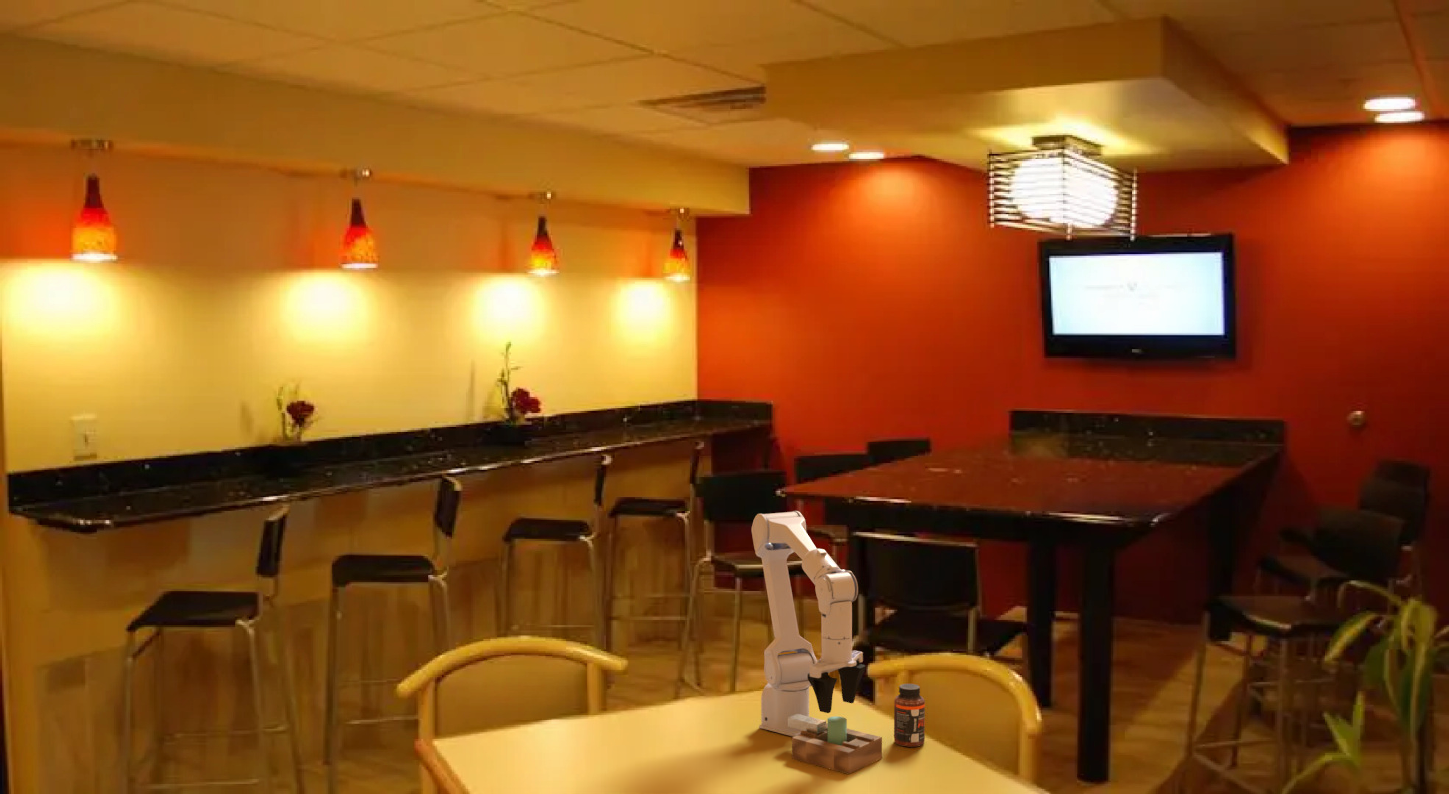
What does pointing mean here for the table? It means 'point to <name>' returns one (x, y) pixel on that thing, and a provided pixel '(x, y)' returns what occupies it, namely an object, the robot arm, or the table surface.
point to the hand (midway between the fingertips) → (836, 707)
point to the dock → (837, 750)
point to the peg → (837, 730)
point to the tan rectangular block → (807, 723)
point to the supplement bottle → (909, 716)
